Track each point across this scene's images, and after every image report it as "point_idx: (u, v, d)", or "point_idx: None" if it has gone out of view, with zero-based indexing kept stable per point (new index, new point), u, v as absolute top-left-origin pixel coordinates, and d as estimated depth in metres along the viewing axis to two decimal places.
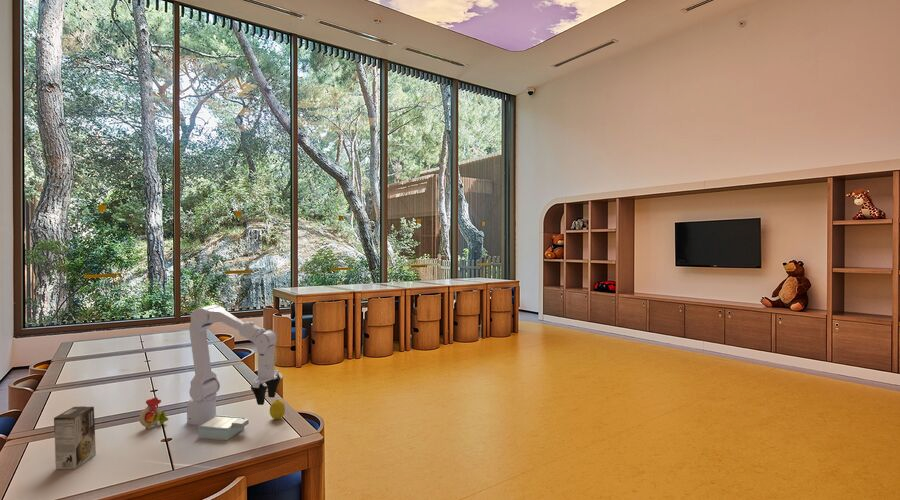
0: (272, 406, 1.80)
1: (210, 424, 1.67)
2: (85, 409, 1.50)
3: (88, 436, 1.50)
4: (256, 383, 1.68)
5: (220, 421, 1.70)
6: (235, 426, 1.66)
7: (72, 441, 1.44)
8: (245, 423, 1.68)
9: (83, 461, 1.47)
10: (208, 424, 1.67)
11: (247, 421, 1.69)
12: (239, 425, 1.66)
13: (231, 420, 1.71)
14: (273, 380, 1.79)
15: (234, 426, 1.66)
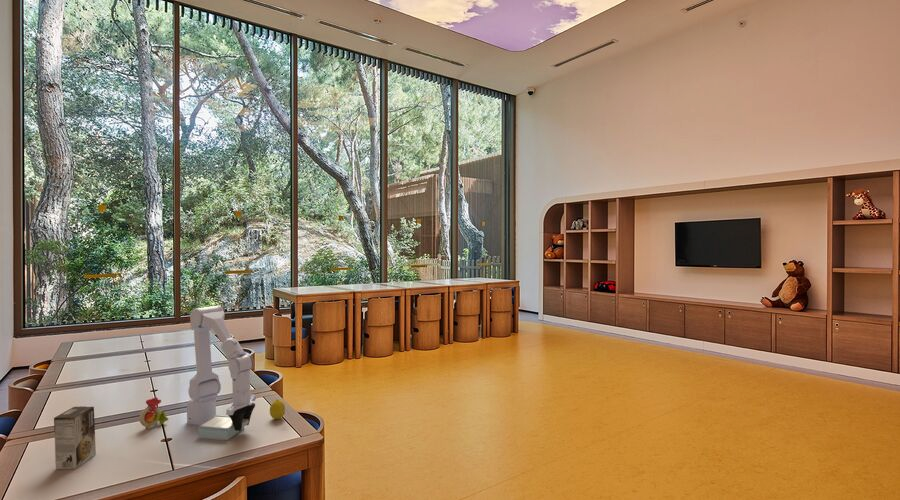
0: (272, 406, 1.80)
1: (210, 424, 1.67)
2: (85, 409, 1.50)
3: (88, 436, 1.50)
4: (230, 410, 1.60)
5: (220, 421, 1.70)
6: None
7: (72, 441, 1.44)
8: (245, 423, 1.68)
9: (83, 461, 1.47)
10: (208, 424, 1.67)
11: (247, 421, 1.69)
12: None
13: (231, 420, 1.71)
14: (247, 407, 1.70)
15: None
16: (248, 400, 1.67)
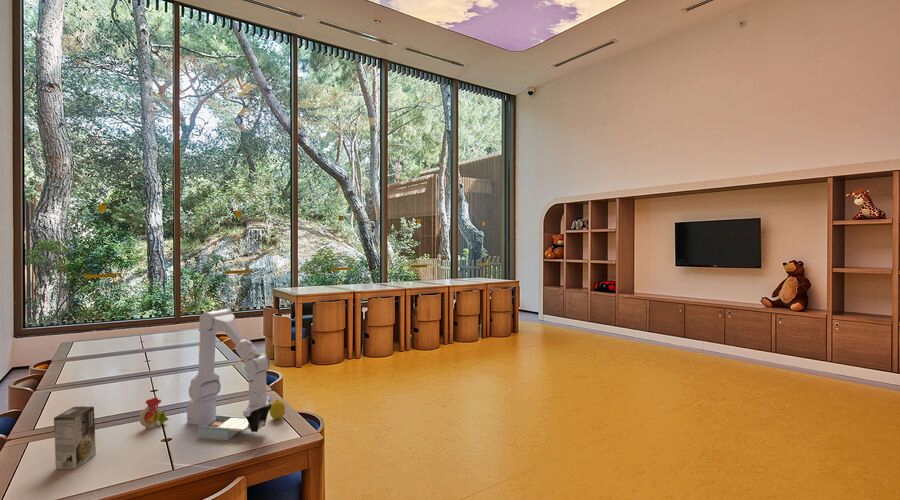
0: (272, 406, 1.80)
1: (226, 425, 1.66)
2: (85, 409, 1.50)
3: (88, 436, 1.50)
4: (247, 411, 1.59)
5: (236, 422, 1.69)
6: None
7: (72, 441, 1.44)
8: (261, 424, 1.67)
9: (83, 461, 1.47)
10: (224, 425, 1.66)
11: (263, 422, 1.68)
12: None
13: (247, 421, 1.70)
14: (263, 408, 1.69)
15: None
16: (264, 401, 1.66)
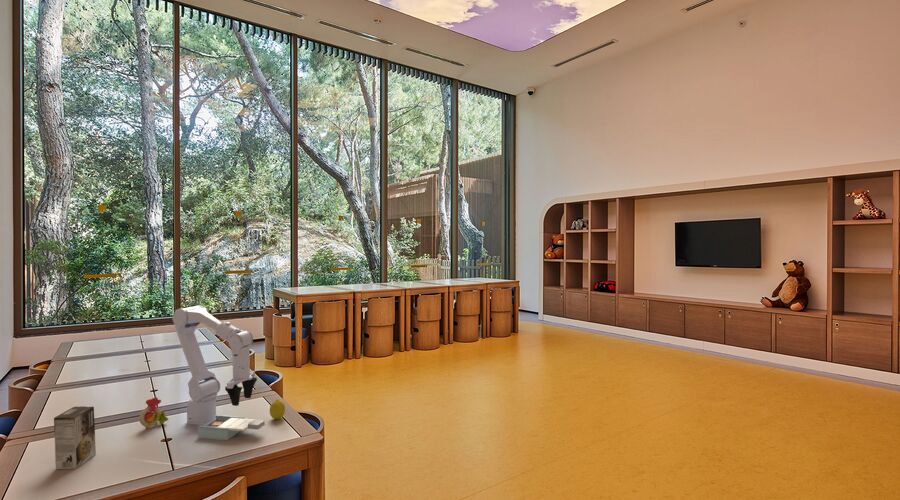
0: (272, 406, 1.80)
1: (226, 425, 1.66)
2: (85, 409, 1.50)
3: (88, 436, 1.50)
4: (230, 384, 1.67)
5: (236, 422, 1.69)
6: (251, 427, 1.65)
7: (72, 441, 1.44)
8: (261, 424, 1.67)
9: (83, 461, 1.47)
10: (224, 425, 1.66)
11: (263, 422, 1.68)
12: (255, 426, 1.65)
13: (247, 421, 1.70)
14: (249, 381, 1.77)
15: (250, 427, 1.65)
16: (248, 375, 1.73)
